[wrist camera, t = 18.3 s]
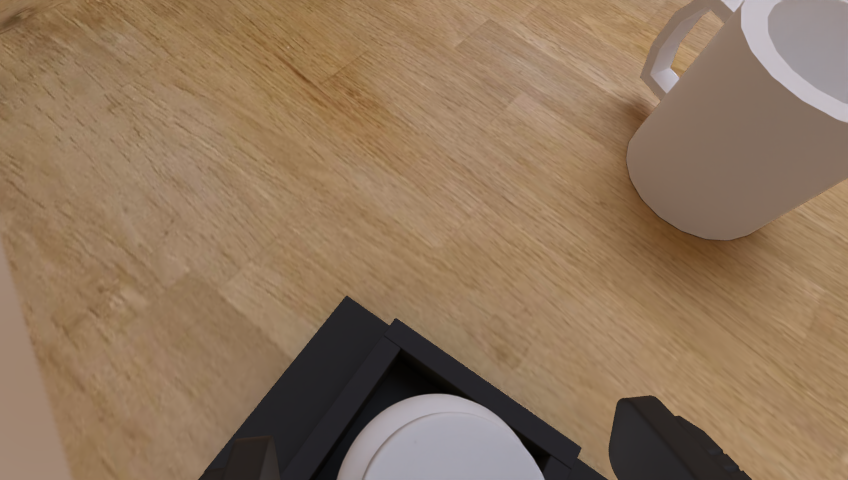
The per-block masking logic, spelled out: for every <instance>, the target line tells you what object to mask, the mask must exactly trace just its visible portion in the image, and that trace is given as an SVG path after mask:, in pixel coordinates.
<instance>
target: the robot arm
mask: <svg viewBox="0 0 848 480" xmlns="http://www.w3.org/2000/svg"><path fill="white" fill-rule="evenodd" d="M609 459H610V463H611V466H612V469H613V471H614V473H615V475H616V477H617V478H618V480H752V479H751V478H750V477H749V476H748V475H747V474H746V473H745V472H744V471H740V469H739V466H738V465H737V464H736V463H735V462H734V461H733V460H732V459H731V458H730V457H729V456H728V455H727V454H724V453H723V450H722V449H721V448H720V447H719V446H718V445H717V444H716V443H715V442H714V441H713V440H712V439H711V438H710V437H709V436H708V435H707V434H706V433H705V432H704V431H703V430H701V429H700V428H698V427H696V426H695V425H693V424H692V423H690V422H689V421H687V420H685V419H684V418H682V417H681V416H674V415H673V414H672V413H671V412H670V411H669V410H668V409H667V408H666V407H665V406H664V404H663V403H662V402H661V401H660V400H659V399H657V398H656V397H654V396H651V395H649V396H640V397H631V398H622V399H620V400H619V401H618V403H617V406H616V411H615V416H614V421H613V427H612V432H611V437H610V443H609ZM198 480H280V474H279V467H278V460H277V454H276V447H275V441H274V437H273V436H272V435H269V436H260V437H251V438H241V439H236V440H235V441H234V443H233V445H232V448H231V451H230V454H229V457H228V460H227V463H226V466H225V467H224V468H215V469H207V470H206V471H205V472H204V474H203V475H202V476H201V477H200V478H199V479H198Z"/></svg>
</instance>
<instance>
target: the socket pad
mask: <svg viewBox="0 0 848 480" xmlns="http://www.w3.org/2000/svg"><path fill="white" fill-rule="evenodd" d="M426 394H448V395H453V396H458V397H461V398H464V399H467V400H470V401H473V402H475V403H477V404H480V405H482V406H483V407H485V408H487V409H488V410H490V411H491V412H493V413H494V414H495V415H497V416H498V417H499V418H500V419H502V420H503V421H504V422H505V423H506V424H507V425H508V426H509V427H510V428H511V430H512V431H513V432H514V433H515V434H516V436H517V437H518V438H519V440H520V441H521V443H522V444H523V446H524V447H525V448H526V450H527V451H528V452H529V453H530V455H531V456H532V457H533V459H534V461H535V462H536V464H537V466H538V467H539V469H540V471H541V473H542V475H543V477H544V479H545V480H608V479H606V478H605V477H603V476H602V475H601V474H599V473H598V472H596V471H595V470H593V469H592V468H591V467H589V466H588V465H586V464H585V463H584V462H582V461H581V460H579V459H578V458H577V457H578V455H579V453H580V450H581V447H580V446H578V445H577V444H576V443H574V442H573V441H571V440H570V439H568V438H567V437H566V436H564V435H563V434H561V433H560V432H558V431H557V430H556V429H554V428H553V427H551V426H550V425H548V424H547V423H546V422H544V421H543V420H541V419H540V418H538V417H537V416H536V415H534V414H533V413H531V412H530V411H528V410H527V409H526V408H524V407H523V406H521V405H520V404H518V403H517V402H516V401H514V400H513V399H511V398H510V397H508V396H507V395H506V394H504V393H503V392H501V391H500V390H498V389H497V388H496V387H494V386H493V385H491V384H490V383H488V382H487V381H486V380H484V379H483V378H481V377H480V376H478V375H477V374H475V373H474V372H473V371H471V370H470V369H468V368H467V367H465V366H464V365H463V364H461V363H460V362H458V361H457V360H455V359H454V358H453V357H451V356H450V355H448V354H447V353H445V352H444V351H443V350H441V349H440V348H438V347H437V346H435V345H434V344H433V343H431V342H430V341H428V340H427V339H425V338H424V337H423V336H421V335H420V334H418V333H417V332H415V331H414V330H413V329H411V328H410V327H408V326H407V325H405V324H404V323H403V322H401V321H400V320H398V319H397V318H396V319H394V321H393V322H392V324H391V325H390V326H389V325H388V324H386V323H385V322H384V321H382V320H381V319H379V318H378V317H377V316H375V315H374V314H372V313H371V312H369V311H368V310H367V309H365V308H364V307H362V306H361V305H360V304H358V303H357V302H355V301H354V300H352V299H351V298H350V297H348V296H346V297H345V298H344V299H343V301H342V302H341V303H340V304H339V306H338V307H337V308H336V309H335V310H334V312H333V313H332V314H331V315H330V317H329V318H328V319H327V320H326V322H325V323H324V324H323V325H322V327H321V328H320V329H319V330H318V331H317V333H316V334H315V335H314V336H313V338H312V339H311V340H310V341H309V343H308V344H307V345H306V346H305V348H304V349H303V350H302V351H301V352H300V354H299V355H298V356H297V357H296V359H295V360H294V361H293V362H292V364H291V365H290V366H289V367H288V369H287V370H286V371H285V372H284V374H283V375H282V376H281V377H280V378H279V380H278V381H277V382H276V383H275V385H274V386H273V387H272V388H271V390H270V391H269V392H268V393H267V395H266V396H265V397H264V398H263V399H262V401H261V402H260V403H259V404H258V406H257V407H256V408H255V409H254V411H253V412H252V413H251V414H250V416H249V417H248V418H247V419H246V421H245V422H244V423H243V424H242V425H241V427H240V428H239V429H238V430H237V432H236V433H235V434H234V435H233V437H232V438H231V439H230V440H229V442H228V443H227V444H226V445H225V446H224V448H223V449H222V450H221V451H220V453H219V454H218V455H217V456H216V458H215V459H214V460H213V461H212V463H211V464H210V465H209V466H208V468H207V469H215V468H224V467H225V466H226V463H227V460H228V457H229V454H230V451H231V448H232V445H233V443H234V441H235V440H236V439H241V438H251V437H260V436H269V435H272V436H273V437H274V441H275V447H276V454H277V460H278V467H279V474H280V480H337V477H338V473H339V470H340V468H341V465H342V462H343V460H344V458H345V456H346V454H347V452H348V451H349V448H350V447H351V445H352V443H353V442H354V440H355V439H356V437H357V436H358V434H359V433H360V432H361V431H362V430H363V429H364V428H365V427H366V425H367V424H368V423H369V422H370V421H371V420H372V419H374V418H375V417H376V416H377V415H378V414H379V413H380V412H382V411H384V410H385V409H387V408H388V407H390V406H392V405H394V404H396V403H397V402H400V401H402V400H405V399H408V398H411V397H415V396H419V395H426ZM207 469H206V470H207ZM206 470H205V471H206ZM205 471H204V472H205Z"/></svg>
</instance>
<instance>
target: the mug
mask: <svg viewBox="0 0 848 480" xmlns="http://www.w3.org/2000/svg"><path fill="white" fill-rule="evenodd" d="M711 10H712V11H713V12H714V13H715V14H716V15H717V16H718V17H719V18H720V19H721V20H722V21H723V22H724V23H725V24H724V25H723V26H722V27H721V29H720V30H719V31H718V32H717V34H716V35H715V36H714V37H713V38H712V40H711V41H710V42H709V43H708V44H707V46H706V47H705V48H704V49H703V51H702V52H701V53H700V54H699V55H698V57H697V58H696V59H695V60H694V62H693V63H692V64H691V65H690V66H689V68H688V69H687V70H686V71H685V72H684V74H683V75H682V76H681V77H680V78H679V77H678V76H677V75H676V74H675V73H674V71H673V70H672V69H671V68H670V67H671V64H672V62H673V59H674V57H675V54H676V52H677V50H678V47H679V45H680V43H681V41H682V40H683V39H684V38H685V36H686V35H687V34H688V33H689V31H690V30H691V29H692V28H693V26H694V25H695V24H696V23H697V22H698V20H699V19H700V18H701V17H702V15H704V14H706V13H707V12H709V11H711ZM640 78H641V79H642V80H643V81H644V82H645V83H646V85H647V86H648V87H649V88H650V89H651V90H652V91H653V93H654V94H655V95H656V96H657V97H658V98H659V100H660V101H661V102H660V103H659V104H658V105H657V107H656V108H655V109H654V110H653V111H652V113H651V114H650V115H649V116H648V117H647V119H646V120H645V121H644V122H643V124H642V125H641V126H640V127H639V128H638V130H637V131H636V133H635V134H634V136H633V137H632V139H631V140H630V141H629V144H628V150H627V156H626V162H627V167H628V171H629V176H630V180H631V181H632V183H633V185H634V186H635V188H636V190H637V192H638V193H639V195H640V197H641V199H642V200H643V201H644V202H645V203H646V204H647V205H648V206H649V207H650V208H651V209H652V210H653V211H654V212H655V213H656V214H657V215H658V216H659V217H660V218H662V219H664V220H665V221H667V222H668V223H670V224H671V225H673V226H675V227H676V228H678V229H679V230H681V231H683V232H686V233H689V234H692V235H695V236H698V237H701V238H704V239H713V240H732V239H736V238H739V237H743V236H747V235H749V234H751V233H753V232H754V231H756V230H758V229H760V228H761V227H763V226H765V225H767V224H768V223H770V222H772V221H774V220H775V219H777V218H779V217H781V216H782V215H784V214H786V213H788V212H789V211H791V210H793V209H795V208H796V207H798V206H800V205H802V204H803V203H805V202H807V201H809V200H810V199H812V198H814V197H816V196H817V195H819V194H821V193H823V192H824V191H826V190H828V189H830V188H831V187H833V186H835V185H837V184H838V183H840V182H842V181H844V180H845V179H847V178H848V0H694V1H692V2H691V3H689V4H687V5H686V6H684V7H683V8H681V9H680V10H678V11H676V12H675V13H674V15H673V16H672V17H671V19H670V20H669V21H668V23H667V24H666V25H665V27H664V28H663V29H662V31H661V32H660V34H659V35H658V36H657V38H656V39H655V40H654V42H653V43H652V45H651V48H650V51H649V53H648V56H647V59H646V62H645V65H644V68H643V70H642V73H641V76H640Z"/></svg>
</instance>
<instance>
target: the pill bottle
mask: <svg viewBox="0 0 848 480" xmlns="http://www.w3.org/2000/svg"><path fill="white" fill-rule="evenodd" d="M337 480H545V479H544V477H543V475H542V473H541V471H540V469H539V467H538V466H537V464H536V462H535V461H534V459H533V457H532V456H531V455H530V453H529V452H528V451H527V450H526V448H525V447H524V446H523V444H522V443H521V441H520V440H519V438H518V437H517V436H516V434H515V433H514V432H513V431H512V430H511V428H510V427H509V426H508V425H507V424H506V423H505V422H504V421H503V420H502V419H500V418H499V417H498V416H497V415H495V414H494V413H493V412H491V411H490V410H488V409H487V408H485V407H483V406H482V405H480V404H477V403H475V402H473V401H470V400H467V399H464V398H461V397H458V396H453V395H448V394H426V395H419V396H415V397H411V398H408V399H405V400H402V401H400V402H397V403H396V404H394V405H392V406H390V407H388V408H387V409H385V410H384V411H382V412H380V413H379V414H378V415H377V416H376V417H375V418H374V419H372V420H371V421H370V422H369V423H368V424H367V425H366V427H365V428H364V429H363V430H362V431H361V432H360V433H359V434H358V436H357V437H356V439H355V440H354V442H353V443H352V445H351V447H350V448H349V451H348V452H347V454H346V456H345V458H344V460H343V462H342V465H341V468H340V470H339V473H338V477H337Z"/></svg>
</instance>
